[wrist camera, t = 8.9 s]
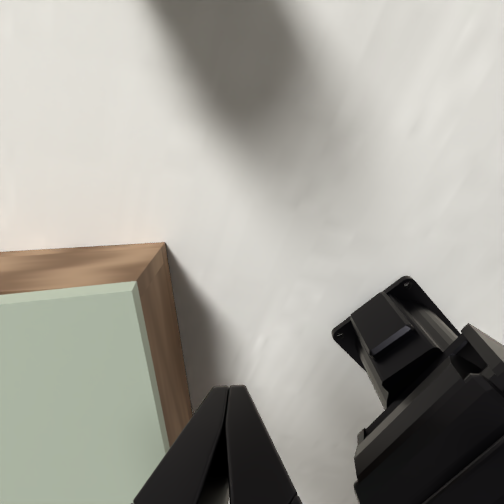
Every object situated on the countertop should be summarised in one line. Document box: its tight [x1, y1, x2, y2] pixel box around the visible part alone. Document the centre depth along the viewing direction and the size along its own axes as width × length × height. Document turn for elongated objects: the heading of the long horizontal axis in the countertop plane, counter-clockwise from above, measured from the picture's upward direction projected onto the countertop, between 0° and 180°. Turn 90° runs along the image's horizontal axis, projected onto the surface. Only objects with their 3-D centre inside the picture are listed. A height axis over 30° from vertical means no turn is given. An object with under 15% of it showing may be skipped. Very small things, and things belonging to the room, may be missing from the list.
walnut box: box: [0, 242, 193, 447], centre depth 21 cm, size 13×17×6 cm
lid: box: [0, 281, 170, 504], centre depth 17 cm, size 13×17×1 cm
